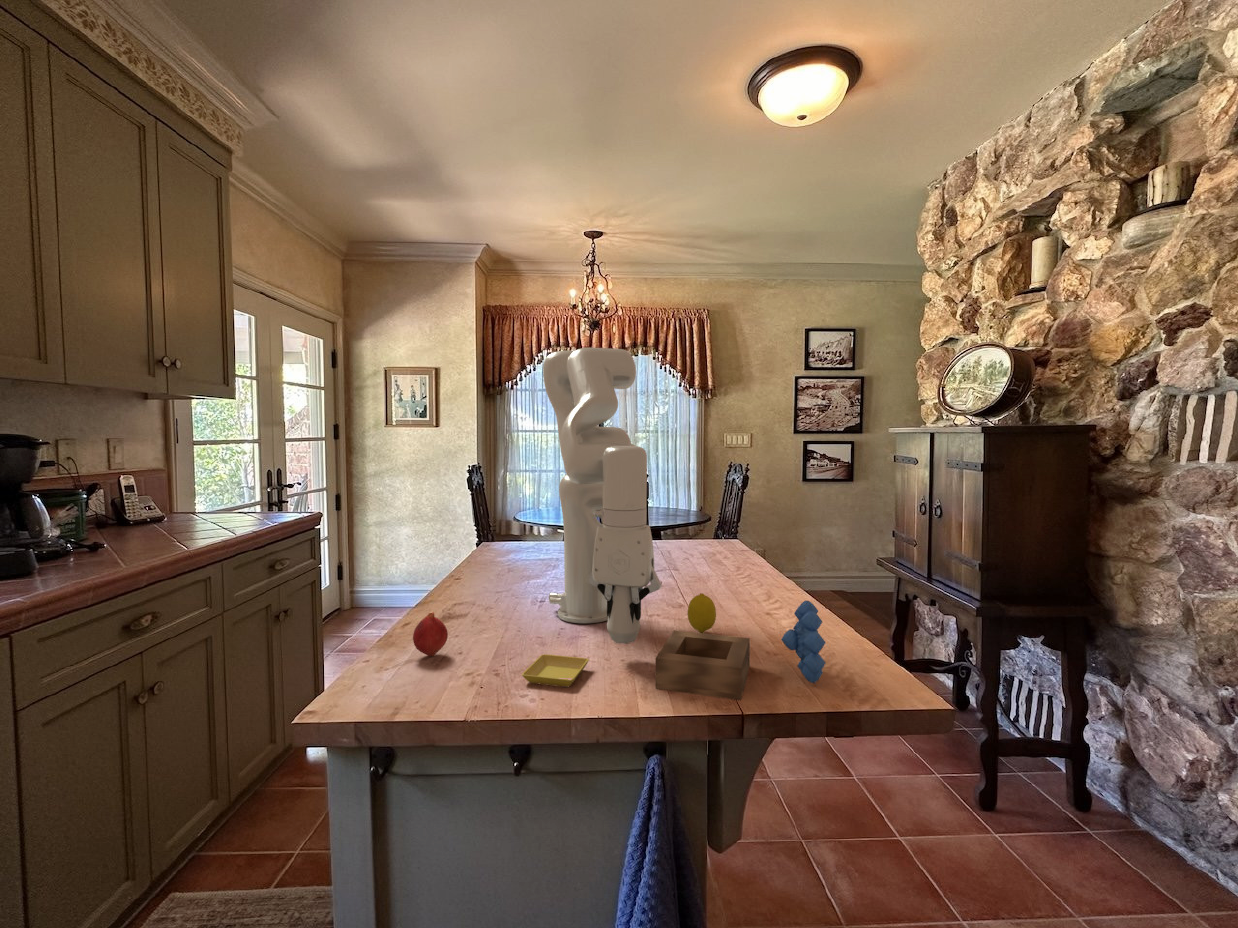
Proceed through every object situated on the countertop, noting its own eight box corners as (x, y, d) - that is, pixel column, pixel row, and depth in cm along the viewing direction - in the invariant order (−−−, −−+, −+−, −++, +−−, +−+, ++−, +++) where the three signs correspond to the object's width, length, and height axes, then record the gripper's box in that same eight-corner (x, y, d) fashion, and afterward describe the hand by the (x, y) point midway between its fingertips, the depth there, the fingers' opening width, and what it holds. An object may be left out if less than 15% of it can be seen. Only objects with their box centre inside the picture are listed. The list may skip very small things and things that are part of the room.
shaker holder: (655, 688, 87) (655, 657, 87) (674, 657, 100) (674, 630, 99) (741, 700, 83) (741, 668, 83) (749, 665, 96) (749, 638, 95)
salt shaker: (636, 647, 95) (637, 571, 94) (603, 644, 96) (604, 569, 95) (642, 634, 101) (643, 562, 100) (611, 631, 102) (611, 561, 101)
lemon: (718, 630, 113) (718, 590, 113) (713, 639, 108) (713, 598, 108) (690, 627, 115) (690, 588, 115) (684, 636, 110) (684, 595, 110)
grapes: (775, 660, 98) (776, 592, 97) (815, 662, 97) (816, 593, 96) (786, 690, 86) (787, 613, 86) (833, 693, 85) (834, 614, 85)
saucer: (572, 693, 87) (572, 679, 87) (520, 687, 89) (520, 674, 89) (590, 670, 95) (590, 658, 95) (542, 665, 97) (542, 653, 97)
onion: (416, 665, 97) (414, 619, 97) (411, 653, 102) (410, 610, 102) (450, 658, 100) (449, 614, 99) (444, 648, 105) (443, 605, 104)
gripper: (571, 518, 96) (572, 624, 97) (665, 525, 91) (664, 636, 92) (588, 511, 103) (588, 609, 105) (676, 517, 98) (674, 620, 99)
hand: (623, 621), depth 98 cm, fingers closed on salt shaker, 3 cm apart
